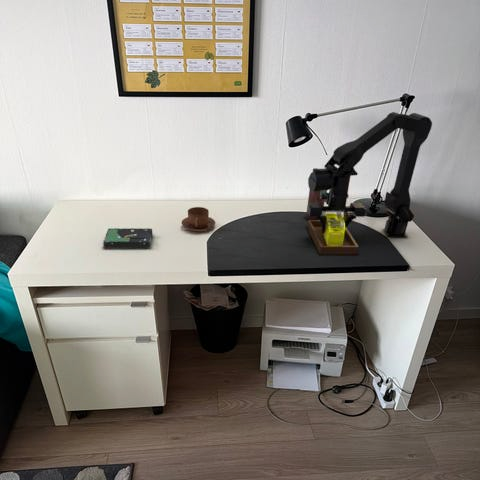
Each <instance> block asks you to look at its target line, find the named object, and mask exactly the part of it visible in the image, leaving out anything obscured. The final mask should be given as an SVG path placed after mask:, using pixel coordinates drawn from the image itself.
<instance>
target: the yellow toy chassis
mask: <svg viewBox="0 0 480 480" xmlns="http://www.w3.org/2000/svg"><path fill="white" fill-rule="evenodd" d="M325 216H326V217H327V219H326V228H325V233H324V234H323V235H324V239H325V240H326V244H327V246H342V244H343V240H344V234H345V222H344V219H343V215H342V212H326V213H325ZM343 226H344V227H343Z"/></svg>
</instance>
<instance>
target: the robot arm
mask: <svg viewBox="0 0 480 480" xmlns="http://www.w3.org/2000/svg"><path fill="white" fill-rule="evenodd" d="M432 126H433V122H432V120H431V118H429V117H428V116H427V115H422V114H421V113H418V112H417V113H416V112H412V113H410V114H404V113H399V112H396V111H392V112H389V113H388V114H387V115H386V117H384V118H383V119H382V120H380V121H379V122H378V123H376V124H375V125H374V126H372V127H371V128H370V129H368V130H367V131H366V132H365V133H363V134H362V135H360V136H359V137H358V138H356V139H355V140H352V141H348V142H346V143H344V144H342V145H340V146H338V147H337V148H335V149H334V150H333V153H332V156H331V157H330V158H329V159H328V161H327V162H326V163H325V165H324V168H317V167H316V168H315V167H314V168H313V169H312V172H311V173H310V174H309V177H308V178H307V184H308V189H309V190H311V191H320V199H325V202H324V203H325V204H326V205H324V206H321V205H320V203H309V204H308V203H307V205H306V213H307V212H308V214H309V216H311V217H317V218H318V219H320V222H321V227H322V232H323V234H324V233H325V228H326V219H327V217H326V216H325V213H337V212H341V213H343V215H342V217H343V219H344V222H345V229H346V228H347V227H348V226H349V225H350V224H351V223H352V222H353V220H356V219H357V218H361V217H362V218H365V216H366V213H367V209H366V207H365V206H364V205H363V204H362V203H361V202H350V204H349V205H347V201H348V198H349V195H350V194H349V190H350V183H351V178H352V177H353V176H358V174H359V173H358V172H357V171H356V170H355V167H356V166H357V165H358V164H359V163H360V162H361V160H362V159H363V157H364V155H365V154H366V153H367V152H368V151H370V150H371V149H372V148H374V147H375V146H376V145H377V144H379V143H380V142H381V141H383V140H384V139H386V138H387V137H388V136H390V135H391V134H393V133H395V131H396V130H398V129H399V130H402V139H403V143H404V145H403V148H402V153H401V157H400V161H399V165H398V169H397V173H396V177H395V181H394V186H393V188H392V189H391V190H390V191H386V193H385V198H384V200H383V204H384V209H386V214H388V218H387V219H386V220H385V225H384V227H383V231H384V232H385V234H387V236H388V237H389V238H407V237H408V236H407V227H408V225H409V223H410V222H412V221H413V220H414V218H415V215H414V213H413V212H412V210H411V194H410V187H411V183H412V179H413V175H414V172H415V168H416V164H417V160H418V158H419V157H418V156H419V154H420V153H419V152H420V149H421V146H422V145H423V144H424V143H425V142H426V140H427V139H428V137H429V135H430V132H431V130H432ZM335 165H336V166H335ZM343 227H344V226H343Z"/></svg>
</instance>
